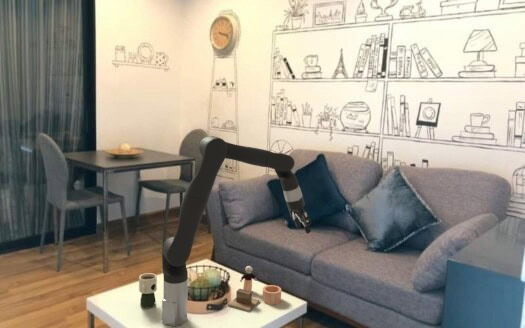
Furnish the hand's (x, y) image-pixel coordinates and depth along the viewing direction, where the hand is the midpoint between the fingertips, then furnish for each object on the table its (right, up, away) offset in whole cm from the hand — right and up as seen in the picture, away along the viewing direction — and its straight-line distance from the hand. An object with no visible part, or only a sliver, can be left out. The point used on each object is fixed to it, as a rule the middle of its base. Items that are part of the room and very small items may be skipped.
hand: (303, 229), depth 191 cm
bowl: (-14, -31, 0) cm, 35 cm away
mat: (-26, -32, -5) cm, 41 cm away
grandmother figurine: (-25, -30, +8) cm, 40 cm away
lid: (-26, -31, -5) cm, 41 cm away
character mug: (-66, -31, -8) cm, 74 cm away
